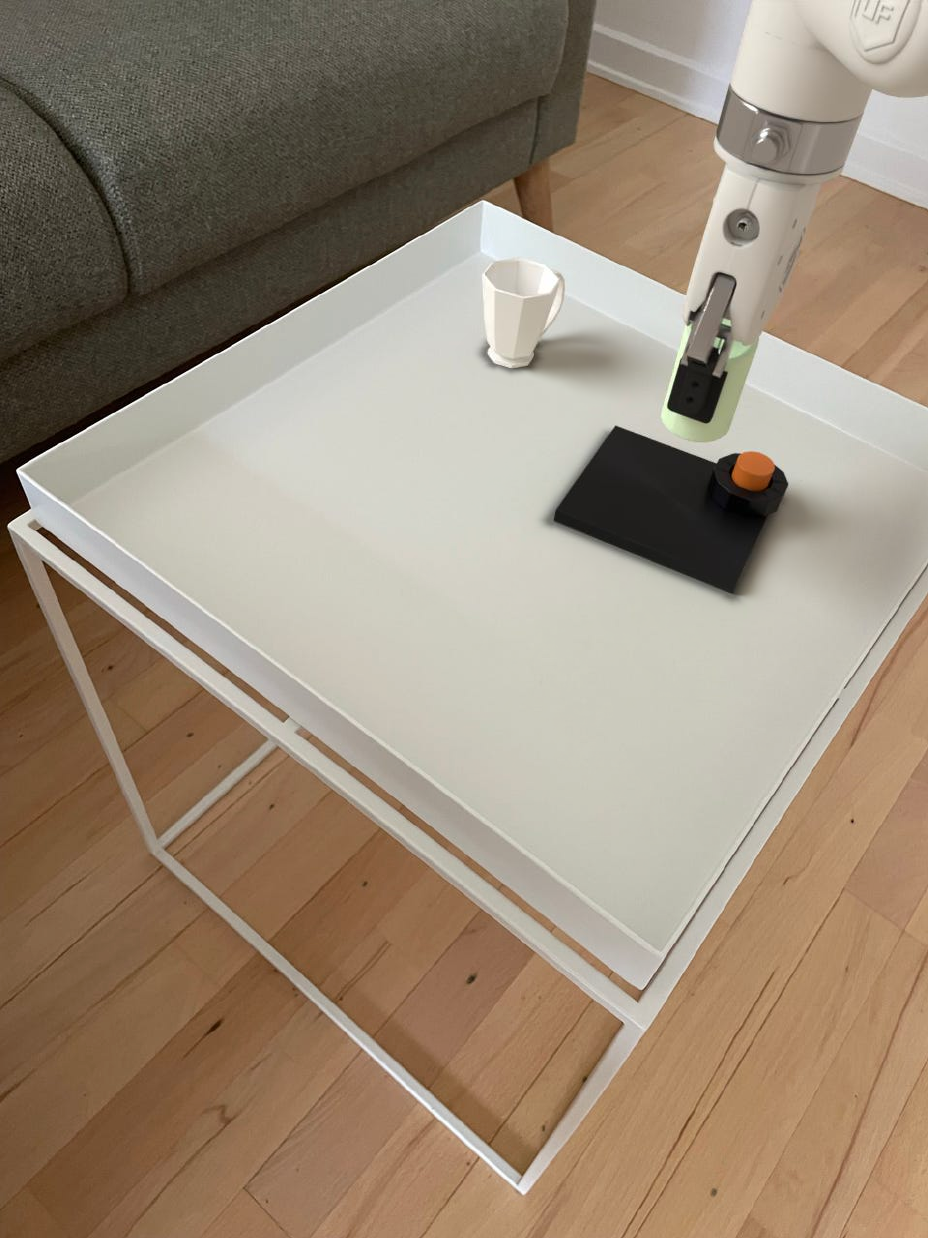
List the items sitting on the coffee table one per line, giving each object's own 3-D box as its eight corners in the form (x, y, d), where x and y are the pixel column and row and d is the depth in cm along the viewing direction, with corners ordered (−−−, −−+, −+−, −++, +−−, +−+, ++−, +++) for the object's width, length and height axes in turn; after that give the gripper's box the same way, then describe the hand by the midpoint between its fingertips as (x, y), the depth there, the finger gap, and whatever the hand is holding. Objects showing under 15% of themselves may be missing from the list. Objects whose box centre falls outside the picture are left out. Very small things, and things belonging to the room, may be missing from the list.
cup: (458, 351, 93) (465, 272, 87) (528, 316, 98) (539, 239, 92) (512, 385, 90) (524, 306, 84) (581, 347, 95) (597, 270, 89)
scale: (783, 497, 83) (795, 469, 80) (737, 596, 74) (749, 568, 72) (614, 433, 86) (621, 405, 84) (553, 520, 78) (559, 492, 76)
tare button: (772, 476, 80) (779, 459, 79) (762, 496, 78) (769, 480, 77) (737, 463, 81) (743, 446, 80) (726, 483, 79) (732, 466, 78)
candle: (731, 447, 70) (765, 348, 64) (661, 438, 70) (689, 339, 64) (726, 405, 73) (759, 306, 67) (660, 396, 73) (686, 297, 67)
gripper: (814, 204, 50) (714, 481, 63) (879, 101, 60) (781, 358, 74) (675, 162, 51) (607, 440, 65) (762, 69, 62) (687, 326, 75)
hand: (700, 394), depth 69 cm, fingers closed on candle, 4 cm apart
